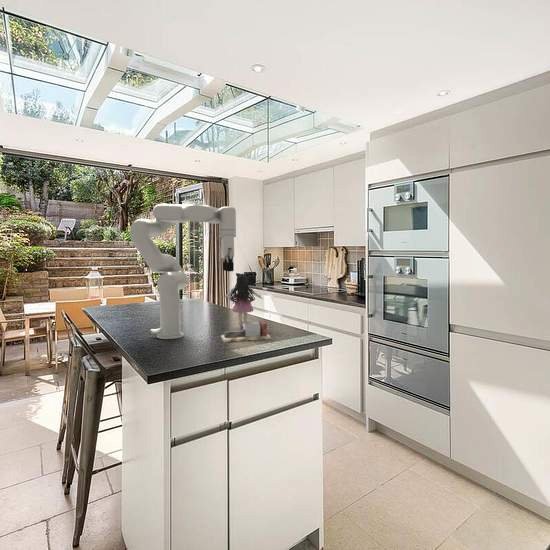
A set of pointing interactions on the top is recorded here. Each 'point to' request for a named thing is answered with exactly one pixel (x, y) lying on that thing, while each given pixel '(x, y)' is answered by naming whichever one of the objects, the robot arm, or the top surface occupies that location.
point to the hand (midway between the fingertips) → (228, 270)
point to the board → (240, 335)
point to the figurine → (242, 297)
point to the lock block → (251, 329)
